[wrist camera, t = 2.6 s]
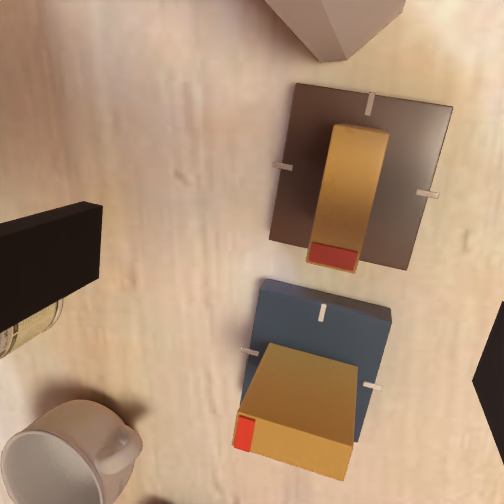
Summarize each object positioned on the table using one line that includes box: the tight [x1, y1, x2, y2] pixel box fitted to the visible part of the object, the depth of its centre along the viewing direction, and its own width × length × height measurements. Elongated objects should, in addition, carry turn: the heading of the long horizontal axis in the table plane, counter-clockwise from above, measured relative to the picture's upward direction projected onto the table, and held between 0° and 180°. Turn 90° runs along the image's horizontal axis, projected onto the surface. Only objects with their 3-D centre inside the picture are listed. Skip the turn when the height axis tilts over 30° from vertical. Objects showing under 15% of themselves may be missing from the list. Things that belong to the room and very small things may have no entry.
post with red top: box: [232, 343, 358, 481], centre depth 30 cm, size 7×3×9 cm, turn 81°
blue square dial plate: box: [240, 279, 392, 442], centre depth 36 cm, size 11×11×3 cm
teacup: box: [1, 400, 143, 504], centre depth 41 cm, size 14×11×8 cm
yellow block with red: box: [306, 123, 390, 273], centre depth 26 cm, size 7×3×9 cm, turn 171°
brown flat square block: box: [269, 83, 453, 270], centre depth 31 cm, size 11×11×3 cm
